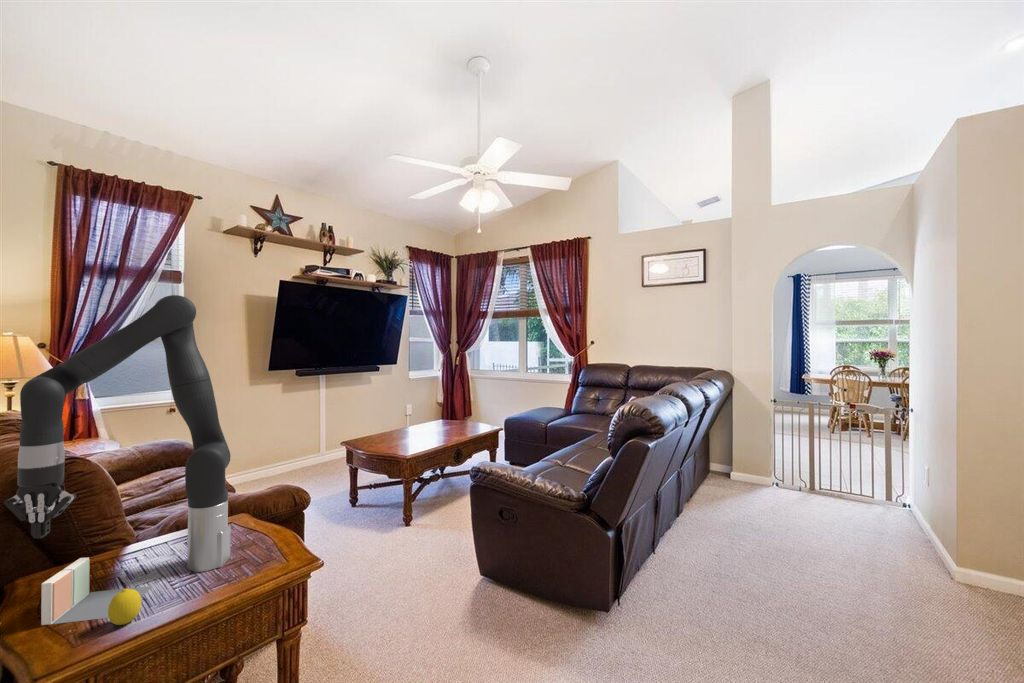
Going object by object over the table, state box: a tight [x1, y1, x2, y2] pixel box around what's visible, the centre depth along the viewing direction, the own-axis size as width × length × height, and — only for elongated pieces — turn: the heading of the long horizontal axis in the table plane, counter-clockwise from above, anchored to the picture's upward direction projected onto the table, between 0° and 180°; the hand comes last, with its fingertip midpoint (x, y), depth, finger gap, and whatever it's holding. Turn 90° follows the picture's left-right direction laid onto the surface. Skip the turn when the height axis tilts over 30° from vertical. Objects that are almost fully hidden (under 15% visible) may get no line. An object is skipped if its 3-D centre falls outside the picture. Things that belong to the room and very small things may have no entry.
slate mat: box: [48, 585, 154, 625], centre depth 104 cm, size 15×13×1 cm
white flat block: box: [62, 557, 90, 608], centre depth 105 cm, size 2×6×9 cm, turn 13°
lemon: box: [108, 588, 142, 626], centre depth 97 cm, size 6×6×8 cm
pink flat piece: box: [40, 569, 71, 626], centre depth 99 cm, size 2×6×9 cm, turn 13°
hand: (40, 536), depth 103 cm, fingers closed
